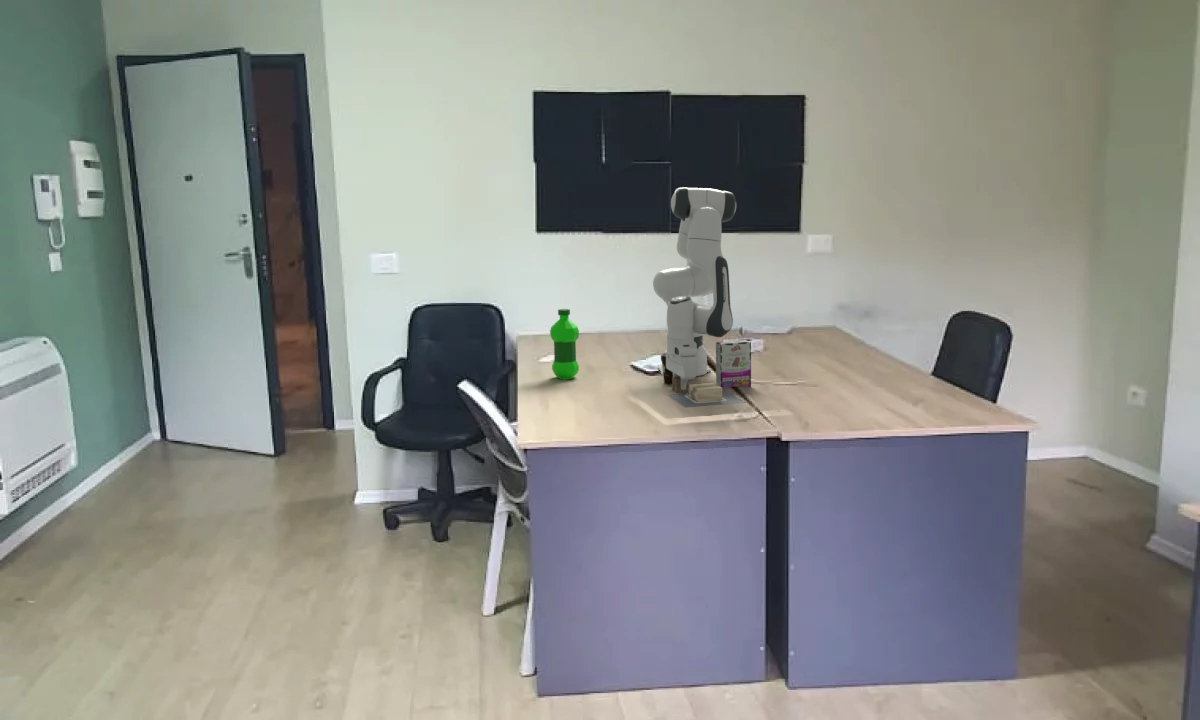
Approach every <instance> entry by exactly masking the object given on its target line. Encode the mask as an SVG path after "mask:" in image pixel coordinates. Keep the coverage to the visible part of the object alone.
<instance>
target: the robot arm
mask: <svg viewBox="0 0 1200 720" xmlns="http://www.w3.org/2000/svg"><path fill="white" fill-rule="evenodd" d="M670 200H671V201H670V208H671V212H672V214H673V215H674V216H675V217H676V218H678V219H680V224H679V230H678V236H677V243H676V251H677V253H678V255H679V256H680V257H681V258H683V259H684V260H686V266H684V267H672V268H670V267H669V268H667V269H663V270H659V271H658V272H657V273H656V274H655V276H654V277H653V280H652V283H653V284H652V286H653V291H654V292H655V294H656V295H657V296H658V297H659V298H660V299H662V300H663V302H664V303H665V304H666V306H667V308H666V327H667V335H666V350H665V351H664V353H666V368H667V369H668V370H670V371H672V372H673V377H677V376H680V377H681V384H680V389H682V390H685V389H686V384H687V381H688V382H689V380H694V379H696V377H697V376H698V377H699V376H704V375H706V374H708V373H710V372H712V371H711V368H709V367H708V358H707V357H708V356H707V349H706V348H704V347H703V344H704V336H703V335H707V336H710V337H716V338H722V337H724V336H726V335H727V334H728V333H729V332H730V330H732V327H733V323H734V320H733V313H732V309H731V293H730V274H729V273H730V272H729V265H728V261H727V259H726V258H725V257H724V256H723V253H722V247H721V244H722V223H727V222H729V221H731V220H732V219H733V218H734V216H735V213H736V210H737V201H736V200H737V199H736V197H735V195H734V193H733V192H730V191H726V190H719V189H715V188H707V187H705V188H703V187H699V188H698V187H686V186H685V187H683V186H682V187H678V188H676V189H675V191H674V193H673V194H672V197H671V199H670ZM711 294H712V298H713V300H712V301H713V304H712V305H706V304H705V305H704V304H699V303H697V302H694V301H693V299H692V298H698V297H706V296H709V295H711ZM660 361H661V362H662V359H661V358H660ZM658 367H659V369H660V371H661V372H660V371H659V372H660V374H661V375H662V376H663V367H662V363H661V364H658V365H657V368H658ZM659 369H658V370H659ZM707 372H708V373H707Z"/></svg>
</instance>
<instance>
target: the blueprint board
mask: <svg viewBox="0 0 1200 720" xmlns="http://www.w3.org/2000/svg"><path fill="white" fill-rule="evenodd" d="M667 396H668V397H669V398H671V399H672V400H674V401H676V402H677V403H678V404H679V405H681V406H683V407H684V408H694V407H695V408H696V407H707V406H717V405H718V406H719V405H732V404H743V403H744V404H745V403H747V402H746V401H744V399H741V398H739V397H738V396H735V395H734V394H731V392H728V391H726V390H725V389H724V390H723V389H722V400H719V401H707V402H697V401H696V400H694V399H692V398H691V397H690V392H682V393H673V394H667Z"/></svg>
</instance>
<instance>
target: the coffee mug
mask: <svg viewBox="0 0 1200 720" xmlns="http://www.w3.org/2000/svg"><path fill="white" fill-rule="evenodd" d="M661 359H662V361H661V364H662V367H663V375H662V376H663V383H664V384H665V385H673V380H672V377H673V372H672V371H670V370H668V369H667V368H666V353H665V352H664V353H660V360H661Z"/></svg>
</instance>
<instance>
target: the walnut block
mask: <svg viewBox="0 0 1200 720" xmlns="http://www.w3.org/2000/svg"><path fill="white" fill-rule="evenodd" d="M672 380H673V384H672V391H673V392H675V394H680V393H689V380H688V381H687V384H686V389H685V390H682V389H680V384H681V377H680V376H677V377H672Z"/></svg>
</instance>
